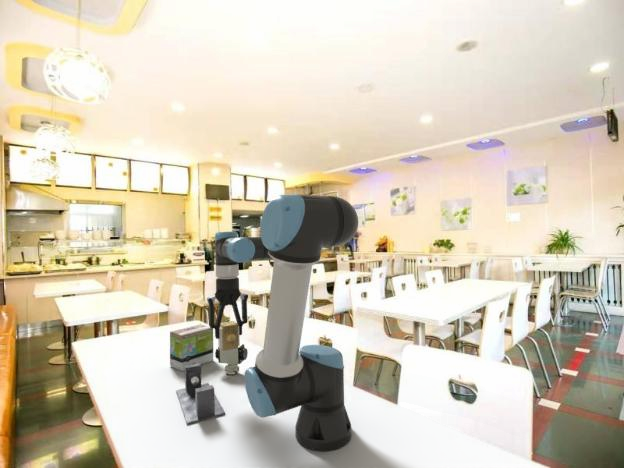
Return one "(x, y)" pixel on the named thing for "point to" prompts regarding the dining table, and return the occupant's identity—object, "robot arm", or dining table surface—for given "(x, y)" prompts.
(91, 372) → the dining table surface
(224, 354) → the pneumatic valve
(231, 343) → the gold metallic block
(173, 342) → the tea box
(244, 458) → the dining table surface
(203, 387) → the base
